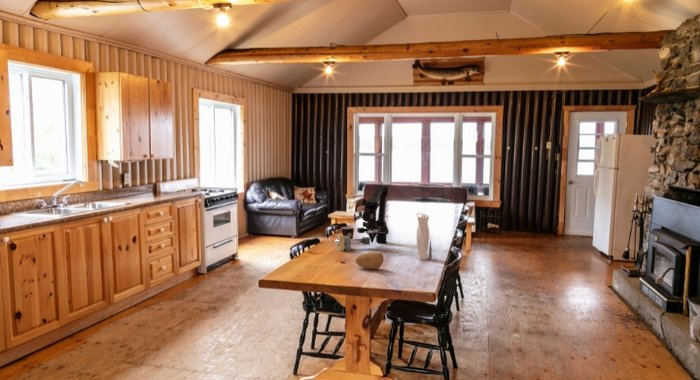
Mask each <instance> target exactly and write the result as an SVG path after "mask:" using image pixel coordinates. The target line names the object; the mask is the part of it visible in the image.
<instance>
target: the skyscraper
mask: <svg viewBox="0 0 700 380" xmlns="http://www.w3.org/2000/svg"><path fill="white" fill-rule="evenodd" d="M419 215H420V216H419ZM416 218H417V222H418V224H417V229H416V246H417V252H418V253H417V255H416V259H417V260H419V261H421V262H425V261H426V262H427V261H433V259H432V258H433V257H432V256H433V254H432V252H433V251H432V247H433V246H432V239H430V229H429V228H430V227H429V224H428V222H429V218H430V215H427V214H424V213H420V212H417V213H416ZM428 249H429V250H428ZM427 253H428V254H427Z"/></svg>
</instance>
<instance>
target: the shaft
mask: <svg viewBox="0 0 700 380" xmlns="http://www.w3.org/2000/svg"><path fill="white" fill-rule="evenodd" d="M337 244H339V240H337V239H334V245H336V246H337ZM344 244H345V240H344ZM352 244H353V245H354V244H355V245H356V244H362V245H364V246H365V245H371V240H370V237H369V236H366V237H365V236H363V237H361V238H353V239H351V245H352Z"/></svg>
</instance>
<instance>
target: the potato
mask: <svg viewBox="0 0 700 380" xmlns="http://www.w3.org/2000/svg"><path fill="white" fill-rule="evenodd" d="M354 262H355V264H357V265H358V267H360V268H364V269H366V270H370V271H371V270H378V269H380V268H381V267H382V265H383V263H384V255H383V254H382V253H381V252H371V251H370V252H366V253H362V254H359V255H357V257H355V260H354Z"/></svg>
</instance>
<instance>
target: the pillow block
mask: <svg viewBox="0 0 700 380" xmlns="http://www.w3.org/2000/svg"><path fill="white" fill-rule="evenodd" d="M344 240H345V244H344V251H346V252H350V251H351V250H352V249H351V248H352V247H351V245H352V244H351V238H350V237H348V236H344Z"/></svg>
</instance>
